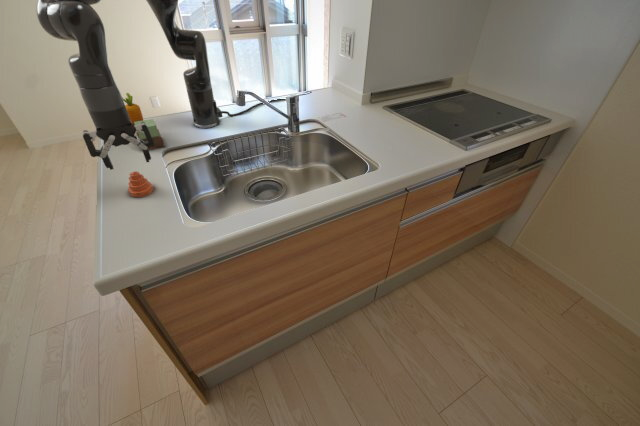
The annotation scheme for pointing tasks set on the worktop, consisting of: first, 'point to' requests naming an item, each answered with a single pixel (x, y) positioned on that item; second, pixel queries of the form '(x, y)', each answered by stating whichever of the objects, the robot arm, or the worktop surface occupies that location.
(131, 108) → the carrot
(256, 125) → the worktop surface
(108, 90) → the robot arm
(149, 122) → the top block
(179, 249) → the worktop surface
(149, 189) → the cone
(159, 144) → the base block
